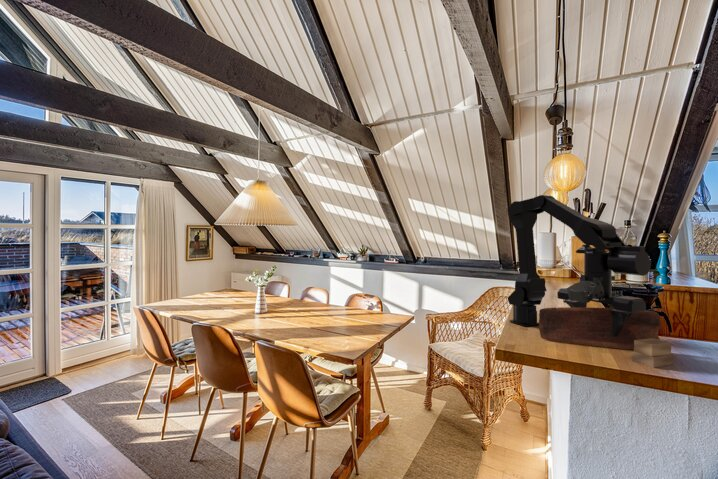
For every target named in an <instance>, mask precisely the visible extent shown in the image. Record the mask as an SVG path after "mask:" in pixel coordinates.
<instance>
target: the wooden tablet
mask: <svg viewBox="0 0 718 479" xmlns="http://www.w3.org/2000/svg"><path fill="white" fill-rule="evenodd" d="M612 309H615V308H614V307H582V308H579V307H573V308H572V307H570V306H569V307H567V306H566V307H564V306H563V307H544V308H540V309H539V313H538V317H539V318H538V323H539V325H538V326H539V327H538V328H539V330H538V331H539V335H540V338H541V339H542V340H546V341H549V342H554V343H555V342H556V343H562V344H573V345H574V344H575V345H583V346H584V345H586V346H595V347H603V348H605V347H606V348H612V349H622V350H623V349H624V350H632V351H634V340H641V339H650V338H654V339H658V340H661V338H660V337H659V331H660V329H661V328H660V327H661V316H660V314H659V313H658V312H657V311H654V310H647V309H646V310H645V311H638V312H637V313H633V314H632V315H631V316H630V317H629V319H628V320H627V321H626V323H625V324H624V326H623V328H622V329H621V331H620V333H619V334H618V336H617V337H613V334H612V318H613V316H612V314H611V312H610V311H609V310H612Z"/></svg>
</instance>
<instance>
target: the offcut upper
mask: <svg viewBox="0 0 718 479" xmlns="http://www.w3.org/2000/svg"><path fill="white" fill-rule="evenodd" d="M634 351H635V352H638V353H642V354H645V355H648V356H660V355H667V354H671V353H672V342H669V341H666V340H661V339H660V340H658V339H654V338H650V339H641V340H634V350H633V352H634Z"/></svg>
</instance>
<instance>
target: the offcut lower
mask: <svg viewBox="0 0 718 479" xmlns="http://www.w3.org/2000/svg"><path fill="white" fill-rule="evenodd" d="M674 356H675V355H674V353H672V352H671V354H667V355H660V356H648V355H645V354H642V353H638V352H635V351H634V350H633V351H632V356H631V357H632V362H634V363H638V364H640V365H643V366H647V367H650V368H653V369H654V368H658V367H659V368H660V367H664V366H669V365H673V364H674V362H675V361H674Z"/></svg>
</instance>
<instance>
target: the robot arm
mask: <svg viewBox="0 0 718 479" xmlns="http://www.w3.org/2000/svg"><path fill="white" fill-rule="evenodd" d="M544 212H545V213H546V214H548V215H550V216H551V217H553V218H555V219H556V220H558V221H559V222H561V223H562V224H564V225H565V226H567V227H569V229H571V230H572V232H573V234H574V236H575V237H576V238H577V239H579V240H580V241H581V242H582V243H583V244H582V246H581V247H579V248H577V250H575V253H576V254H583V255H584V258H583V259H584V261H583V264H584V266H583V267H584V268H583V270H584V272H583V274H580V277H579V281H578V282H575V283H573V284H572V285H570V286H568V287H565V288H563V287H562V288H559V289H558V291H557V294H556V296H557V297H556V298H557V299H559V300H562V302H563V303H565V304H566V305H568V306H569V307H572V308H573V307H579V308H582V307H586V308H588V305H587V304H588V303H590V302H594V303H600V304H606V305H611V306H612V308H615V309H612V310H609V311H610V312H611V314H612V316H613V318H612V334H613V337H617V336H618V334H619V333H620V331H621V329H622V328H623V326H624V324H625V323H626V321H627V320H628V319H629V317H630V316H631V315H632V314H633V313H637V312H638V311H645V310H646V311H647V303H646V302H645V300H644V298H641V297H634V296H631V295H630V296H628V295H623V296H616V292H614V291H612V285H613V284H612V282H613V281H615V280H616V276H615V275H612V274H613V273H614V274H620V275H629V276H641V277H645V276H646V275H648V274H649V272H650V270H651V266H652V260H651V259H650V255H649V254H648V253H647V252H646V246H643V245H642V246H641V245H633V246H627V245H626V243H624V241H623V239H622V238H620V236H619V235H618V234H617V229H616V227H615V226H614V225H613V224H611V223H608V222H605V221H602V220H600V219H595V218H591V217H589V216H585V215H584V214H582V213H580V212H579V211H577V210H575V209H573V208H571V207H570V206H568V205H567V204H565V203H563V202H561V201H559V200H558V199H556V198H555V197H554V196H553V195H546V194H539V195H537V196H534V197H532V198H527V199H524V200H520V201H517V200H516V201H515V200H514V201H512V202H511V204H509V206H508V208H507V213H508V217H509V221H510V223H511V224H512V226H513V228H514V229H515V235H516V237H515V238H516V248H517V259H518V276H517V278H516V280H515V282H514V290H513V292H511V293H510V295H509V296H508V297H507V301H508V303H509V305H512V308H513V313H512V316H513V317H512V318H513V319H509V323H513V324H516V325H519V326H523V327H532V326H540V325H539V321H538V311H537V306H540V305H541V304H542V300H543V299H544V298H545V296H546V292H547V291H548V290H547V288H546V287H547V286H546V279H545V278H544V277H540V275H539V273H538V272H537V261H536V252H535V250H536V249H535V238H534V226H535V225H536V222H537V220H538V215H539V214H543V213H544ZM606 250H608V251H606Z"/></svg>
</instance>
